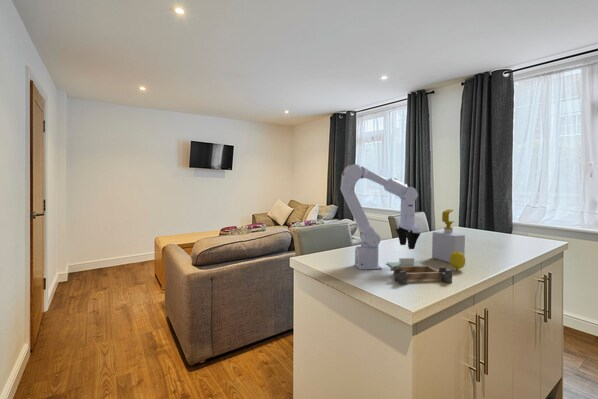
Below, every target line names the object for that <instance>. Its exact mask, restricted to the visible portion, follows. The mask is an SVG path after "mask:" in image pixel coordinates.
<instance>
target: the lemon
mask: <svg viewBox="0 0 598 399" xmlns="http://www.w3.org/2000/svg"><path fill="white" fill-rule="evenodd" d="M449 264H450V266H451V267H452V268H453V269H455V270H456V271H459V270H461V269H463V268H464V267H465V265H466V257H465V255H463V254H462V253H461V252H459V251H456V252H453V253H452V254H451V256H450V263H449Z"/></svg>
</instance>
